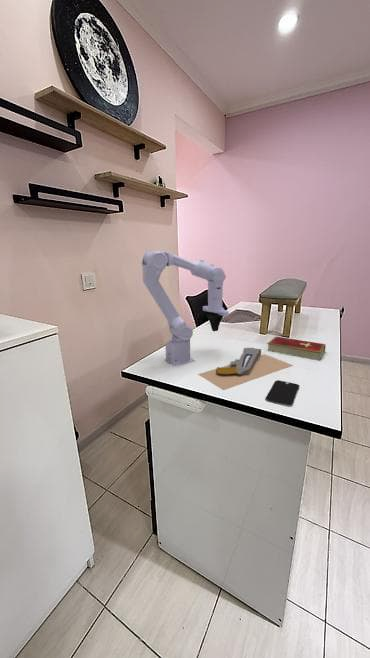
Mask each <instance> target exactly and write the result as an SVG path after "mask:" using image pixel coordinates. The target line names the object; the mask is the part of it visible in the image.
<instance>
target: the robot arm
mask: <svg viewBox="0 0 370 658" xmlns="http://www.w3.org/2000/svg"><path fill="white" fill-rule="evenodd" d="M171 266H175V267H177V268H182V269H185V270H187V271H190V273H191V275H192V276H195V277H197V278H200V279H203V280H206V281H207V303H208V304H207V305H204V306H203V305H202V311H203V312H208V313H206V317H207V319H208V321H209V324H210V328H211V331H212V332H218V330H219V327H220V324H221V322H222V319H223V318H227V317H229V316H230V314H229V311H227V310H225V308H224V307H223V290H224V289H223V285H224V282H225V280H226V277H227V275H226V274H225V271H224V269H222V268H221V267H215V265H214V264H209V263H207V262H205V261H204V260H202V259H199V260H195V261H191V260H188V259H185V258H184V257H181V256H179V255H176V254H174V253H171V252H165V251H162V250H148V251H147V252H145V253H144V255H143V257H142V261H141V267H142V282H143V284H144V285H145V287H146V289H147V290H148V292H149V294H150V295H151V297H152V299H153V301H155V303H156V305H157V307H158V308H159V310H160V311H161V313H162V314H163V316H164V318H165V319H166V321H167V325H168V326H169V333H170V334H171V340H169V341H167V342H165V359H164V360H165V361H166V362H168V363H170V364H171V365H172V366H174V367H176V366H177V367H178V366H181V365H184V364H188V363H191V362H195V360H196V359H195V358H193V357H191V338H192V337H193V328H192V326H190V325H189V324H187V323H186V321H185V320H184V319H183V317H181V316H180V314H179V312H178V310H177V309H176V308H175V305H174V304H173V302H172V300H171V299H170V297H169V296H168V293H167V292H166V291H165V289H164V287H163V286H162V284H161V283H160V279H161V274H162V273H163V271H164V270H165V268H167V267H171Z"/></svg>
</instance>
